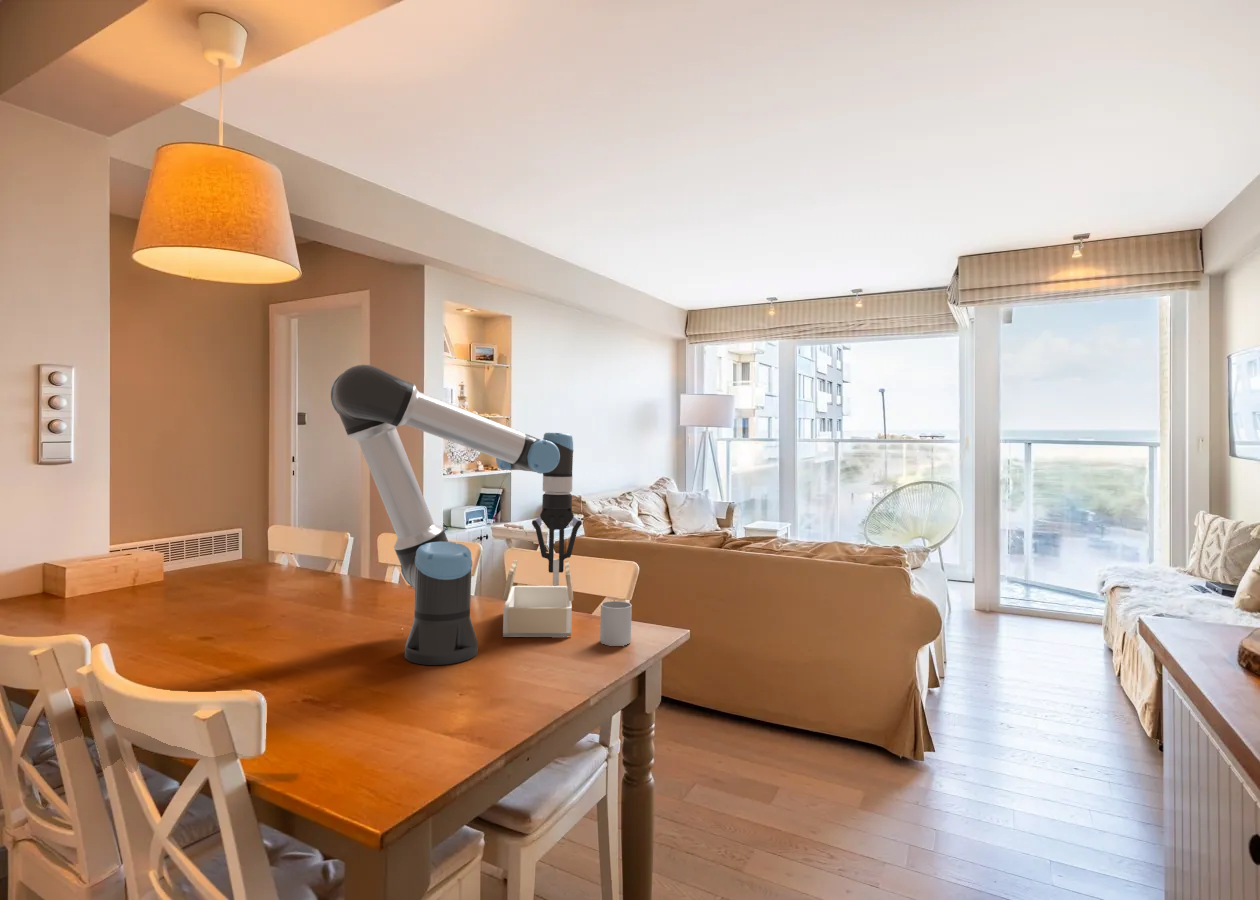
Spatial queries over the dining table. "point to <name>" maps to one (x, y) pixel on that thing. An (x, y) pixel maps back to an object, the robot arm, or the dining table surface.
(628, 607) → the cup
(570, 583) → the flap
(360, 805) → the dining table surface
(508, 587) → the flap
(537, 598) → the carton
